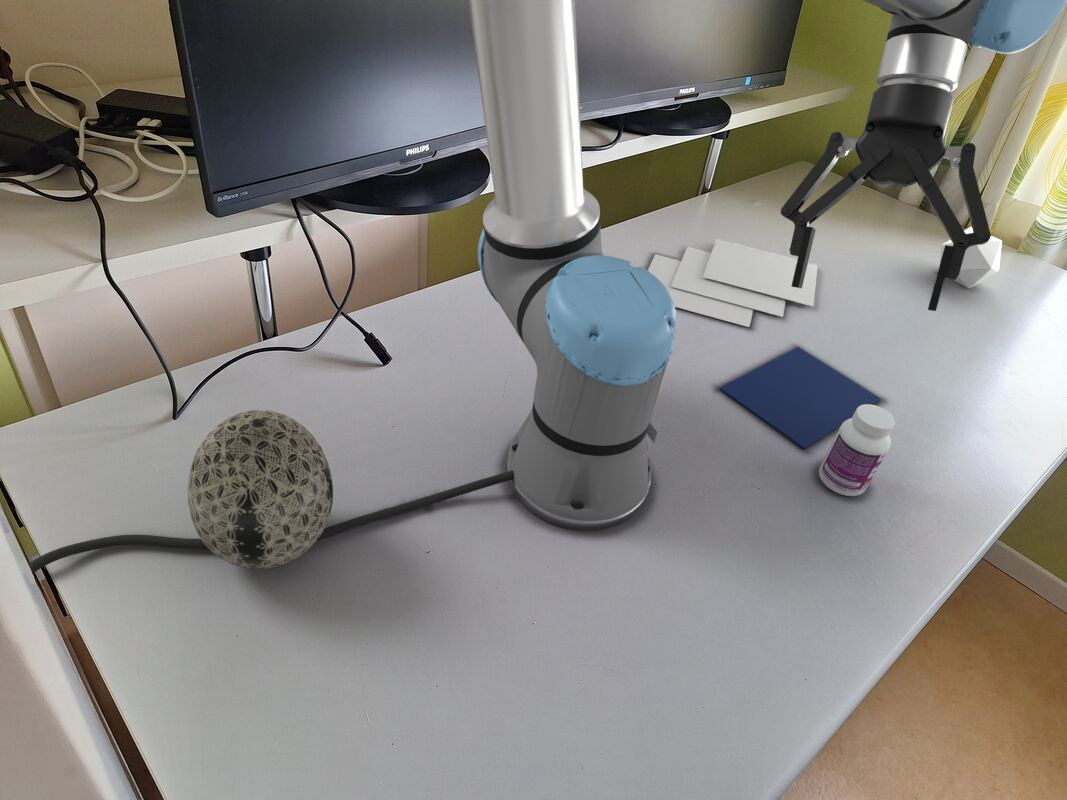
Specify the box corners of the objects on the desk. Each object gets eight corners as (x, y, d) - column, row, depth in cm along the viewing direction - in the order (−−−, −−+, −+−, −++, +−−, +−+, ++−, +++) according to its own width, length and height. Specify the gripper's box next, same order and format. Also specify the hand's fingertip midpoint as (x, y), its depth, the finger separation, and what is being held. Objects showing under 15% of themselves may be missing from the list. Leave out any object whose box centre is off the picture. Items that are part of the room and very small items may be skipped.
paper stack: (808, 343, 106) (810, 339, 105) (635, 296, 110) (636, 292, 110) (816, 268, 123) (817, 264, 123) (666, 229, 128) (667, 226, 127)
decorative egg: (220, 496, 74) (193, 374, 64) (344, 499, 75) (336, 381, 65) (186, 598, 65) (149, 474, 55) (327, 599, 66) (315, 479, 57)
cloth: (803, 449, 89) (804, 448, 88) (718, 389, 96) (719, 387, 96) (880, 400, 98) (881, 398, 98) (797, 348, 105) (798, 346, 105)
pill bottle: (868, 502, 83) (906, 438, 77) (819, 491, 83) (853, 427, 77) (862, 469, 87) (897, 405, 81) (815, 458, 88) (847, 394, 81)
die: (995, 289, 127) (997, 228, 126) (1003, 285, 118) (1005, 220, 118) (938, 291, 130) (939, 232, 129) (941, 287, 122) (943, 224, 121)
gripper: (1052, 108, 75) (991, 320, 79) (794, 92, 86) (752, 280, 90) (1064, 88, 68) (997, 321, 72) (783, 73, 79) (738, 277, 83)
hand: (861, 299), depth 81 cm, fingers open, 13 cm apart
